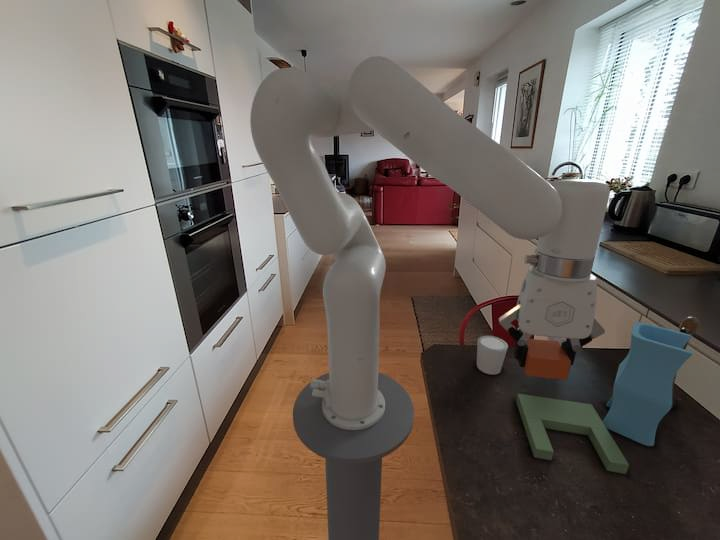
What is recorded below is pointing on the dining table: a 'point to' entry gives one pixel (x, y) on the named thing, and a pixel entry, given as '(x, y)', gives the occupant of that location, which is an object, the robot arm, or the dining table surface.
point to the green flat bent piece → (567, 428)
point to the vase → (646, 382)
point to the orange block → (546, 360)
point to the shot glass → (490, 354)
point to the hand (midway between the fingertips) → (541, 363)
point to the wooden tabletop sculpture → (687, 327)
